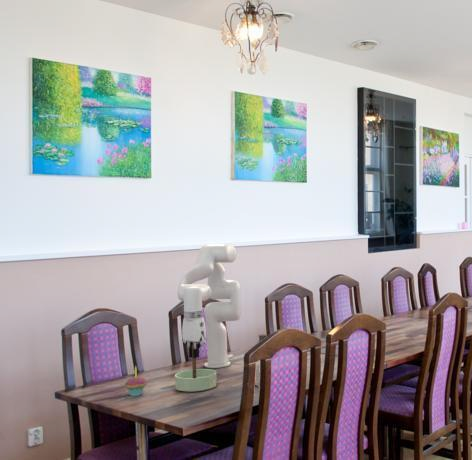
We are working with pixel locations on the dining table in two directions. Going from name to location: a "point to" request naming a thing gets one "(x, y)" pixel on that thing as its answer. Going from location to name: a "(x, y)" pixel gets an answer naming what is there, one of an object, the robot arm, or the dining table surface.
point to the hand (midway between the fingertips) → (194, 357)
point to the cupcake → (135, 385)
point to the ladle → (194, 364)
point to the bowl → (195, 380)
